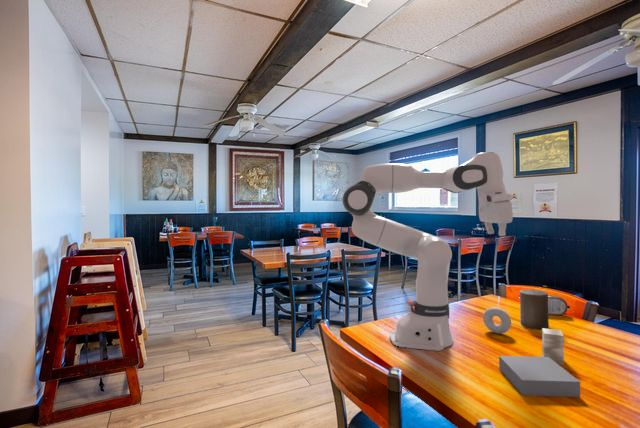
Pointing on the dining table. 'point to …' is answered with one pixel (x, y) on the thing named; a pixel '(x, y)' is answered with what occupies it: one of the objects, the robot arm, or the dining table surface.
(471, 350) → the dining table surface
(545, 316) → the pillar candle
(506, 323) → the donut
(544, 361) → the grey plinth
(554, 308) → the tin
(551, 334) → the grey upright block
